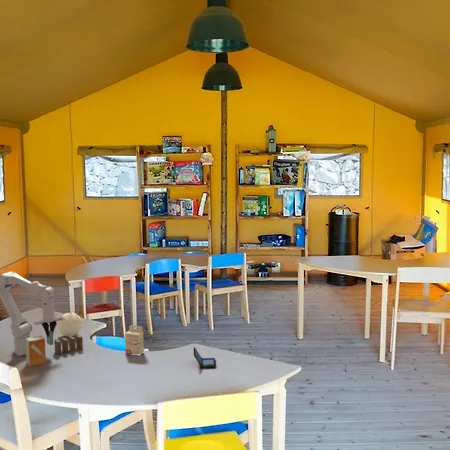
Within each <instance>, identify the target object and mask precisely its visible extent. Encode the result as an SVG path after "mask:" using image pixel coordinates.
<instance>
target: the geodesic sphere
mask: <svg viewBox="0 0 450 450" xmlns="http://www.w3.org/2000/svg"><path fill="white" fill-rule="evenodd" d="M61 316H62V317H63V320H62V321H61V320H60V321H57V325H56V326H57V329H58V331H59V334H61V335H63V336H65V338H69V337H70V336H72V337H76V335H78V333H80V332H81V330H82V328H83V327H82V326H83V321H82V318H81V317H80V315H78V312H77V311H76V312H65V313H64V314H63V315H61Z"/></svg>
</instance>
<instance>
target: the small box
mask: <svg viewBox="0 0 450 450" xmlns="http://www.w3.org/2000/svg"><path fill="white" fill-rule="evenodd" d="M25 355H26V356H25V357H26V363H27V365H28V366H29V367H33V366H39V365H43V364H47V359H46V358H47V357H46V339H45V337H43V335H38V336H32V337H31V336H30V338H26V354H25Z"/></svg>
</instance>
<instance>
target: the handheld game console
mask: <svg viewBox="0 0 450 450" xmlns="http://www.w3.org/2000/svg"><path fill="white" fill-rule="evenodd" d="M193 357H194V358H195V359H196V361H197V363H198V364H199V366H200V369H201V368H205V369H216V368H217V367H216V365H217V364H216V358H215V357H202V356H201V355H200V353H199V351H198V350H197V348H196V347H195V346H194V347H193ZM215 367H216V368H215Z"/></svg>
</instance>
